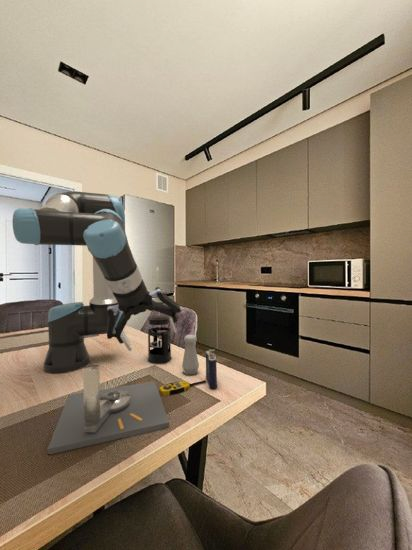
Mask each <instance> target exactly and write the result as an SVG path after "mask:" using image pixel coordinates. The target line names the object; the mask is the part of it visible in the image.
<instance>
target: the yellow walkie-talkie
mask: <svg viewBox="0 0 412 550" xmlns="http://www.w3.org/2000/svg"><path fill="white" fill-rule="evenodd" d="M204 383H207V380H206V379H205V380H201V381H196V382H193V383H189V381H175V382H174V381H173V382H170V383H167V384H165V385H162V386H160V387H159V388H158V391H159V394H160V396H164V397H165V396H173V395H177V394H178V395H179V394H181V393H185V392H186V391H188V390H190V387H191V386H194V385H199V384H200V385H201V384H204Z"/></svg>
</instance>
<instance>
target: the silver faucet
mask: <svg viewBox="0 0 412 550" xmlns="http://www.w3.org/2000/svg"><path fill="white" fill-rule="evenodd" d="M82 382H83V383H82V385H83V386H82V387H83V390H82V391H83V392H82V393H83V395H84V429H85V432H93V433H95V432H96V431H97V430H98V429H99V427H100V426H101V425H102V424H103V422H104V421H105V420H106V419H107V418H108V416H109V415H110V414H111V413H114V412H118V411H120V410H123V409H124V408H126V407H127V406H128V405H129V404H130V394H129V393H128V392H127V391H123V390H116V391H110V392H107V393H105V394H103V395H101V396H100V390H101V388H100V365H99V364H87V365H86V366H84V367H82Z"/></svg>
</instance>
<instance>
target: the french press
mask: <svg viewBox="0 0 412 550" xmlns="http://www.w3.org/2000/svg"><path fill="white" fill-rule="evenodd" d="M157 302H158V303H161V304H163V305H165V304H164V303H163V302H162V301H157ZM160 314H161V313H160V312H158V315H154V316H153V315H152V316H148V317H147V320H148V325H151V326H156V327H151V328H148V329H147V334H148V335H147V348H148V351H147V352H148V353H147V355H148V357H147V361H148V363H149V364H155V365H157V364H161V365H162V364H166V363H168V362H170V361H171V360H172V358H173V357H172V349H171V347H172V345H171V333H172V332H171V328H170V327H165V326H163V325H168V324H170V319H169V316H168V315H160ZM160 331H162V332H160ZM151 336H152V339H153V341H151ZM151 348H152V349H151Z"/></svg>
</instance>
